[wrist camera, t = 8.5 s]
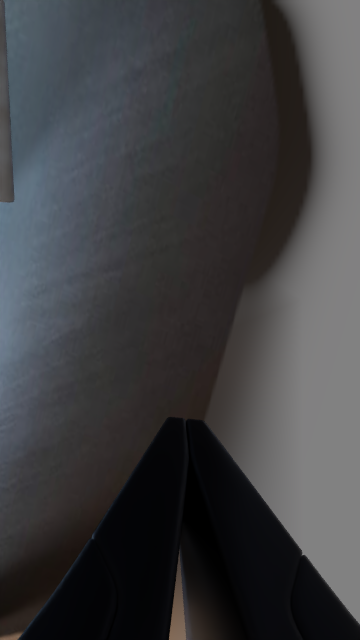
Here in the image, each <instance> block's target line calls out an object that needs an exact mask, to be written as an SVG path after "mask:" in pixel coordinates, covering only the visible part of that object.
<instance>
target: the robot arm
mask: <svg viewBox="0 0 360 640" xmlns="http://www.w3.org/2000/svg"><path fill="white" fill-rule="evenodd" d="M179 549H180V562H181V575H182V589H183V600H184V601H183V602H184V615H185V629H186V640H360V624H359V623H358V622H357V621H356V619H355V618H354V617H353V616H352V615H351V614H350V612H349V611H348V610H347V609H346V607H345V606H344V605H343V603H342V602H341V601H340V600H339V598H338V597H337V596H336V595H335V593H334V592H333V591H332V589H331V588H330V587H329V585H328V584H327V583H326V582H325V580H324V579H323V578H322V577H321V575H320V574H319V573H318V571H317V570H316V569H315V567H314V566H313V565H312V563H311V562H310V561H309V559H308V558H307V557H306V556H305V555H302V550H301V549H300V548H299V546H298V545H297V544H296V542H295V541H294V540H293V538H292V537H291V536H290V534H289V533H288V532H287V530H286V529H285V528H284V526H283V525H282V524H281V522H280V521H279V520H278V518H277V517H276V516H275V514H274V513H273V512H272V510H271V509H270V508H269V506H268V505H267V504H266V502H265V501H264V500H263V498H262V497H261V496H260V494H259V493H258V492H257V490H256V489H255V488H254V486H253V485H252V484H251V482H250V481H249V480H248V478H247V477H246V476H245V474H244V473H243V472H242V470H241V469H240V468H239V466H238V465H237V464H236V462H235V461H234V460H233V458H232V457H231V456H230V454H229V453H228V452H227V450H226V449H225V448H224V446H223V445H222V444H221V442H220V441H219V440H218V438H217V437H216V436H215V434H214V433H213V432H212V430H211V429H210V428H209V426H208V425H207V424H206V423H205V422H204V421H203V420H195V419H187V420H186V421H185V419H183V418H175V417H168V418H167V419H166V421H165V422H164V424H163V425H162V427H161V428H160V430H159V432H158V433H157V435H156V436H155V438H154V439H153V441H152V442H151V444H150V446H149V447H148V449H147V450H146V452H145V453H144V455H143V456H142V458H141V460H140V461H139V463H138V464H137V466H136V467H135V469H134V471H133V472H132V474H131V475H130V477H129V478H128V480H127V481H126V483H125V485H124V486H123V488H122V489H121V491H120V492H119V494H118V496H117V497H116V499H115V500H114V502H113V503H112V505H111V506H110V508H109V510H108V511H107V513H106V514H105V516H104V517H103V519H102V520H101V522H100V524H99V525H98V527H97V528H96V530H95V531H94V533H93V535H92V538H91V539H89V540H88V542H87V543H86V545H85V547H84V548H83V550H82V551H81V553H80V554H79V556H78V557H77V559H76V561H75V562H74V563H73V565H72V566H71V568H70V569H69V571H68V572H67V574H66V575H65V577H64V578H63V580H62V581H61V582H60V584H59V585H58V587H57V588H56V590H55V591H54V593H53V594H52V595H51V597H50V598H49V599H48V601H47V602H46V603H45V605H44V606H43V607H42V609H41V610H40V611H39V613H38V614H37V615H36V617H35V618H34V619H33V620H32V622H31V623H30V624H29V626H28V627H27V628H26V630H25V631H24V632H23V634H22V635H21V636H20V637H19V639H18V640H169V633H170V625H171V616H172V607H173V599H174V590H175V582H176V573H177V564H178V555H179Z"/></svg>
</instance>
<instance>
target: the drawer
mask: <svg viewBox="0 0 360 640" xmlns="http://www.w3.org/2000/svg"><path fill="white" fill-rule="evenodd" d="M0 202H14V182H13V162H12V142H11V123H10V103H9V83H8V63H7V43H6V23H5V3H4V0H0Z"/></svg>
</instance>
